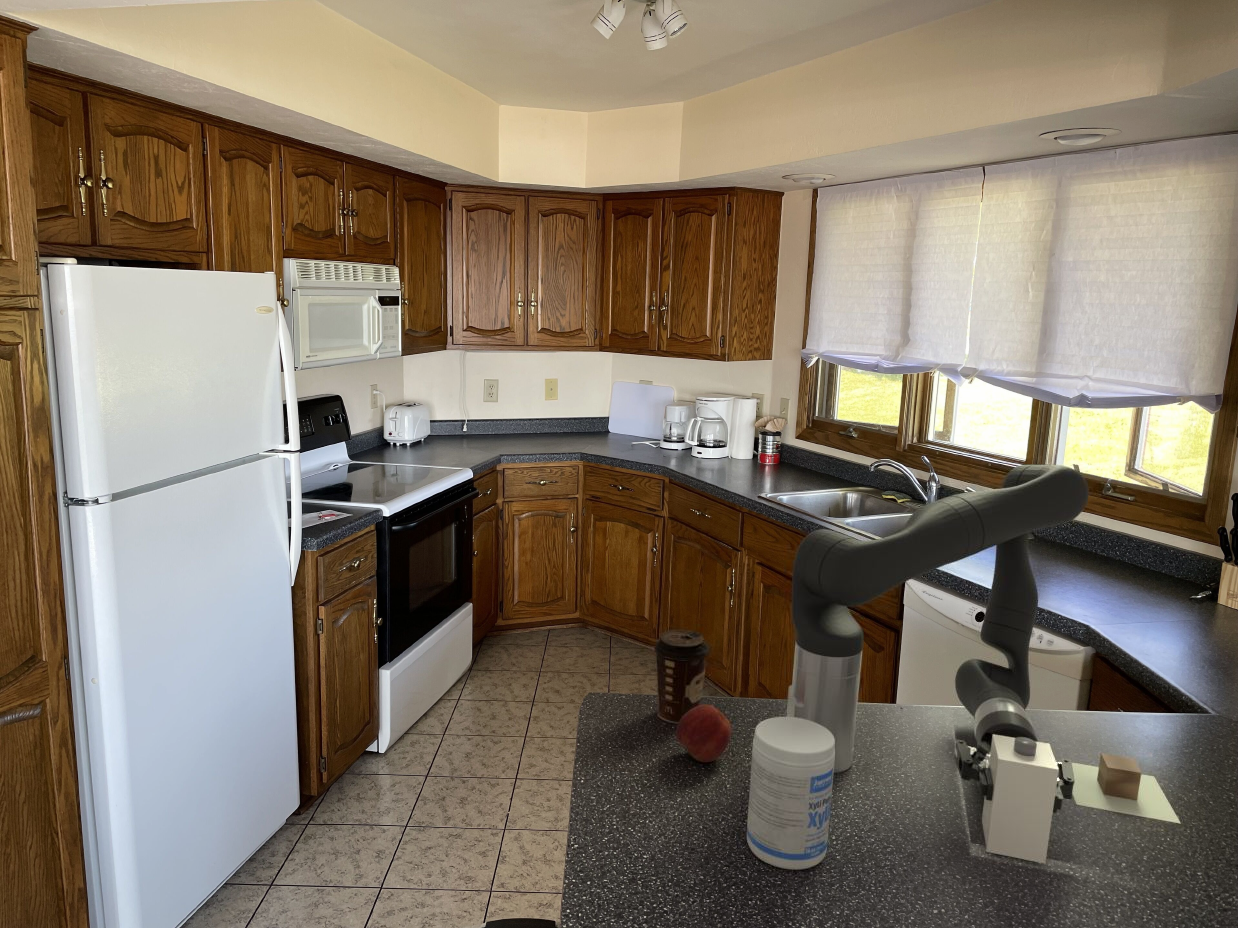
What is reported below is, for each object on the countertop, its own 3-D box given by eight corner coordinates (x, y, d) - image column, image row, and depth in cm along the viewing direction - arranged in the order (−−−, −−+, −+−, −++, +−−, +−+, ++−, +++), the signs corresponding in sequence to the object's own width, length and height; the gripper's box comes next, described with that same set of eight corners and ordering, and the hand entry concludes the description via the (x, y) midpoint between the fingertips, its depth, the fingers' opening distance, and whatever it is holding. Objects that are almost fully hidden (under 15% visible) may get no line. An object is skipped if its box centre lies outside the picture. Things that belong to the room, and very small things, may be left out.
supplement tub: (822, 881, 98) (833, 761, 95) (739, 862, 100) (747, 745, 98) (829, 833, 107) (839, 722, 104) (752, 817, 109) (760, 709, 107)
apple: (727, 775, 119) (731, 721, 118) (671, 768, 120) (674, 714, 119) (730, 748, 126) (733, 697, 125) (677, 742, 128) (680, 691, 126)
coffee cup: (706, 705, 140) (710, 629, 138) (706, 729, 132) (711, 649, 130) (652, 701, 141) (656, 625, 139) (649, 725, 133) (653, 645, 130)
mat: (1075, 811, 114) (1076, 804, 113) (1059, 766, 125) (1060, 760, 125) (1179, 830, 110) (1180, 823, 110) (1153, 782, 121) (1154, 776, 121)
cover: (986, 851, 103) (999, 749, 101) (981, 821, 109) (993, 724, 107) (1045, 863, 101) (1060, 759, 99) (1036, 832, 107) (1050, 734, 105)
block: (1103, 794, 116) (1107, 767, 115) (1096, 779, 120) (1100, 752, 119) (1137, 800, 115) (1141, 772, 114) (1129, 785, 119) (1133, 758, 118)
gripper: (951, 700, 119) (960, 758, 103) (1067, 719, 115) (1094, 782, 99) (945, 750, 120) (953, 815, 105) (1059, 770, 116) (1085, 841, 100)
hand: (1022, 799), depth 102 cm, fingers closed on cover, 6 cm apart
